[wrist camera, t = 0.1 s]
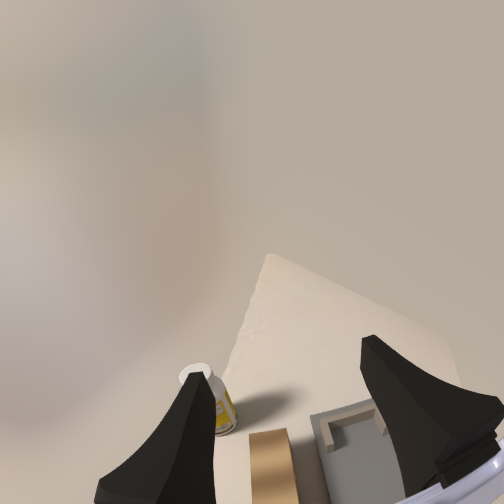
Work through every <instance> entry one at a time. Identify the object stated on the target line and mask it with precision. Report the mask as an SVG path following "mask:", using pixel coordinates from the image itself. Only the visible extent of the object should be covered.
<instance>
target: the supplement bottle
mask: <svg viewBox="0 0 504 504" xmlns="http://www.w3.org/2000/svg"><path fill="white" fill-rule="evenodd" d="M200 371H203V373H204V375H205V377H206V379H207V382H208V384H209V386H210V388H211V390H212V392H213V394H214V396H215V398H216V431H215V436H222V435H225V434H227V433H229V432H231V431H232V430H233V429H234V428H235V426H236V424H237V421H238V417H237V413H236V411H235V409H234V406H233V404H232V402H231V399H230V397H229V395H228V392H227V390H226V387H225V385H224V383H223V381H222V380H221V379H220V378H218V377H217V376H214V374H213V372H212V369H211V367H210V366H209V365H207V364H204V363H196V364H192V365H190V366H188V367H186V368H185V369H184V370H182V372H181V373H180V376H179V380H180V382H181V384H182V386H183V384H184V382H185V380H186V378H187V376H188V374H189V373H191V372H200Z"/></svg>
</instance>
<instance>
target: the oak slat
mask: <svg viewBox="0 0 504 504" xmlns="http://www.w3.org/2000/svg"><path fill="white" fill-rule="evenodd" d="M249 445H250V466H251V486H252V504H300V498H299V492H298V486H297V480H296V474H295V468H294V463H293V457H292V451H291V446H290V442H289V438H288V434H287V430H286V428H283V429H278V430H272V431H266V432H259V433H253V434H249Z"/></svg>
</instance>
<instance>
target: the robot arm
mask: <svg viewBox="0 0 504 504" xmlns="http://www.w3.org/2000/svg"><path fill="white" fill-rule="evenodd" d="M360 370H361V372H362V375H363V378H364V381H365V383H366V386H367V388H368V390H369V392H370V394H371V396H372V398H373V400H374V402H375V404H376V406H377V408H378V410H379V412H380V414H381V416H382V418H383V420H384V422H385V424H386V426H387V429H388V431H389V434H390V437H391V440H392V443H393V446H394V450H395V453H396V456H397V460H398V464H399V468H400V471H401V476H402V481H403V485H404V491H405V496H406V499H404V500H402V501H399V502H397V503H395V504H490V503H492V502H493V501H494V500H495V499H497V498H498V497H499V496H500V495H501V494H503V493H504V437H503V438H502V439H500V440H499V441H498V442H497V441H496V440H495V438H496V437H497V434H496V432H495V431H494V430H495V429H496V428H497V426H498V425H499V424H500V423H501V421H502V420H503V418H504V405H503V404H502V403H501V401H500V400H499V399H498V397H496V396H490V395H484V394H479V393H476V392H472V391H468V390H465V389H462V388H459V387H457V386H454V385H451V384H449V383H447V382H444V381H442V380H440V379H438V378H436V377H434V376H432V375H430V374H428V373H427V372H425V371H423V370H422V369H420V368H419V367H417V366H415V365H414V364H413V363H411V362H410V361H408V360H407V359H405V358H404V357H403V356H401V355H400V354H399V353H397V352H396V351H395V350H393V349H392V348H391V347H389V346H388V345H387V344H386V343H384V342H383V341H382V340H381V339H380V338H378V337H377V336H376V335H371V336H368V337H364V338H362V347H361V363H360ZM215 431H216V398H215V396H214V394H213V392H212V390H211V388H210V386H209V384H208V382H207V379H206V377H205V375H204V373H203V371H200V372H191V373H189V374H188V376H187V378H186V380H185V382H184V384H183V386H182V388H181V390H180V391H179V393H178V395H177V397H176V399H175V400H174V402H173V404H172V406H171V407H170V409H169V410H168V412H167V413H166V415H165V416H164V418H163V419H162V421H161V422H160V424H159V425H158V427H157V428H156V429H155V431H154V432H153V433H152V434H151V436H150V437H149V438H148V439H147V440H146V441H145V443H144V444H143V445H142V446H141V447H140V448H139V449H138V450H137V451H136V452H135V453H134V454H133V455H132V456H131V457H130V458H129V459H127V460H126V461H125V462H124V463H122V464H121V465H120V466H119V467H117V468H116V469H115V470H113V471H112V472H110V473H109V474H107V475H106V476H104V477H103V478H101V479H100V480H99V483H98V486H97V490H96V494H95V499H94V503H95V504H216V497H215V486H214V471H213V455H214V443H215Z"/></svg>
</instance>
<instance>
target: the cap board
mask: <svg viewBox="0 0 504 504" xmlns="http://www.w3.org/2000/svg"><path fill="white" fill-rule="evenodd" d="M310 420H311V424H312V428H313V432H314V436H315V440H316V444H317V448H318V452H319V456H320V460H321V464H322V468H323V472H324V477H325V481H326V485H327V489H328V493H329V498H330V502H331V504H395V503H397V502H399V501H402V500H404V499H406V496H405V491H404V485H403V481H402V476H401V471H400V468H399V464H398V460H397V456H396V453H395V450H394V446H393V443H392V440H391V437H390V434H389V431H388V429H387V426H386V424H385V422H384V420H383V418H382V416H381V414H380V412H379V410H378V408H377V406H376V404H375V402H374V400H373V398H371V399H368V400H365V401H362V402H358V403H355V404H352V405H349V406H345V407H342V408H338V409H334V410H331V411H327V412H323V413H319V414H315V415H311V416H310Z"/></svg>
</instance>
